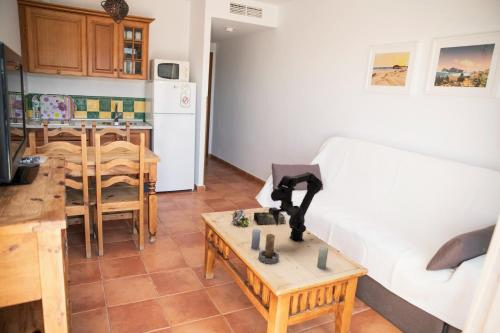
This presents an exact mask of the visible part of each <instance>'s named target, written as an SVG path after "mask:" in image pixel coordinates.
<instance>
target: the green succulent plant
mask: <svg viewBox="0 0 500 333" xmlns="http://www.w3.org/2000/svg"><path fill="white" fill-rule="evenodd" d="M244 212H245V209H244V208H243V209H242V210H241V209H239V210H234V212H233V213H232V222H233V225H236V224H237V223H238V222H240V223H241V225H240V226H241V227H242V228H244V226H245V227H247V225H249V220H250V222H251V221H252V217H250V216H249V217H245V215H246V213H244Z"/></svg>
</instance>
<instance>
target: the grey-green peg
mask: <svg viewBox="0 0 500 333" xmlns="http://www.w3.org/2000/svg"><path fill="white" fill-rule="evenodd" d="M328 254H329V248H327V247H326V246H320V247H319V248H318V256H317V264H316V267H317V268H318V269H319V270H325V269H327V260H328Z"/></svg>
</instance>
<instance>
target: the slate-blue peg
mask: <svg viewBox="0 0 500 333" xmlns="http://www.w3.org/2000/svg"><path fill="white" fill-rule="evenodd" d="M251 235H252V236H251V246H250V247H251V249H253V250H259V249H260V245H261V244H260V243H261V230H260V229H258V228H256V229H254V228H253V230H252V234H251Z"/></svg>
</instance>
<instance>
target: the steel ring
mask: <svg viewBox="0 0 500 333" xmlns="http://www.w3.org/2000/svg"><path fill="white" fill-rule="evenodd" d="M279 258H280V254H279V253H278V252H276V251H275V250H274V252H273V258H265V249H264V250H260V251H259V252H258V259H257V260H258V261H260V262H261V263H263V264H268V265H275V264H277V263H278V262H279Z"/></svg>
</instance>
